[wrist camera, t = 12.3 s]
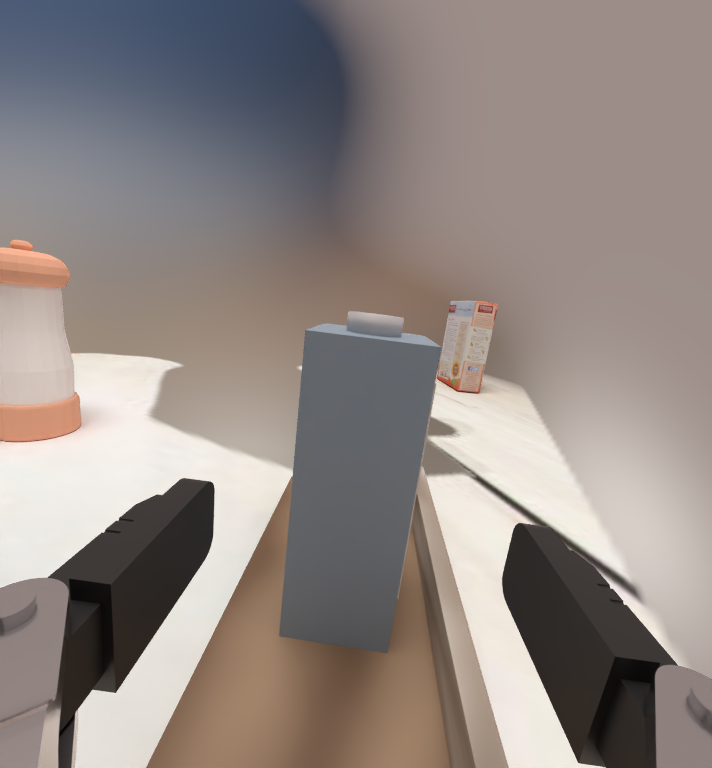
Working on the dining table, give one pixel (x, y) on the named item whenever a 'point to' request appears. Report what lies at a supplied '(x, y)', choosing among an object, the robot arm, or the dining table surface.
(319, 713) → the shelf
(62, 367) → the salt shaker
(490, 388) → the dining table surface
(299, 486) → the tea tin
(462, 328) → the cracker box
